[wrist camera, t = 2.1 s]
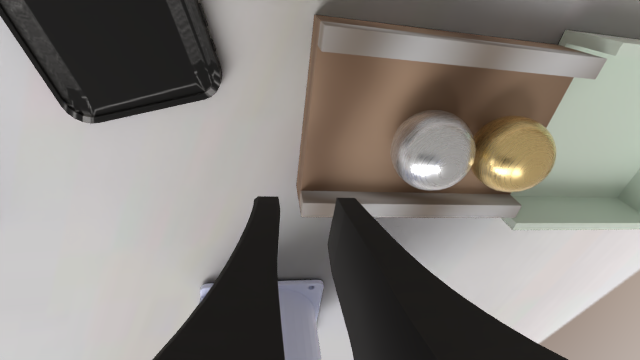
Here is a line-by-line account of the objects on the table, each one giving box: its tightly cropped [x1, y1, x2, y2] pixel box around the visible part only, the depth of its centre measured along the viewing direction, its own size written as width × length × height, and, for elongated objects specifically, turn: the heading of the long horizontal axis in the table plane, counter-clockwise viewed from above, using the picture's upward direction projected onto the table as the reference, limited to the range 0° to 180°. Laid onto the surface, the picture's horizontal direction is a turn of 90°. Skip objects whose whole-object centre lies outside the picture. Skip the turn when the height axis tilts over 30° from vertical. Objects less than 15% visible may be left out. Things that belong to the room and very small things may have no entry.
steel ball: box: [391, 110, 476, 191], centre depth 16 cm, size 4×4×4 cm
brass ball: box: [471, 116, 556, 192], centre depth 17 cm, size 4×4×4 cm
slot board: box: [296, 15, 607, 218], centre depth 18 cm, size 14×10×3 cm
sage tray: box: [502, 30, 640, 230], centre depth 21 cm, size 12×12×4 cm
